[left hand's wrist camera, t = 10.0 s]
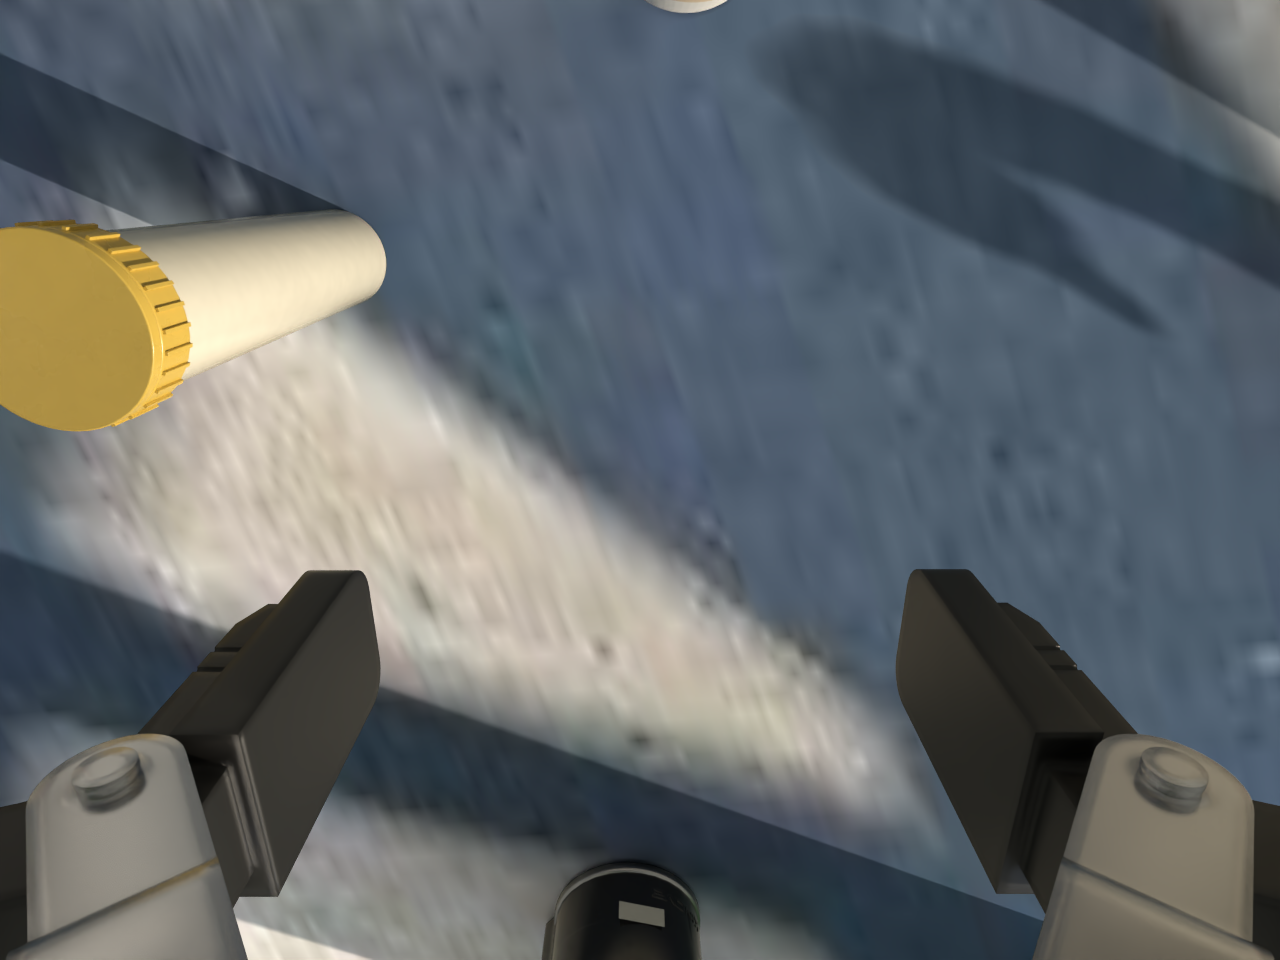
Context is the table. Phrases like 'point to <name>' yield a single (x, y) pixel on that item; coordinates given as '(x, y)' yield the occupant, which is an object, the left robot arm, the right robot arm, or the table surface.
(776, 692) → the table surface
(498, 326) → the table surface
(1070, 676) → the left robot arm
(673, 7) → the coffee cup
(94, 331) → the lid
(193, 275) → the beige long cylinder
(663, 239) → the table surface
